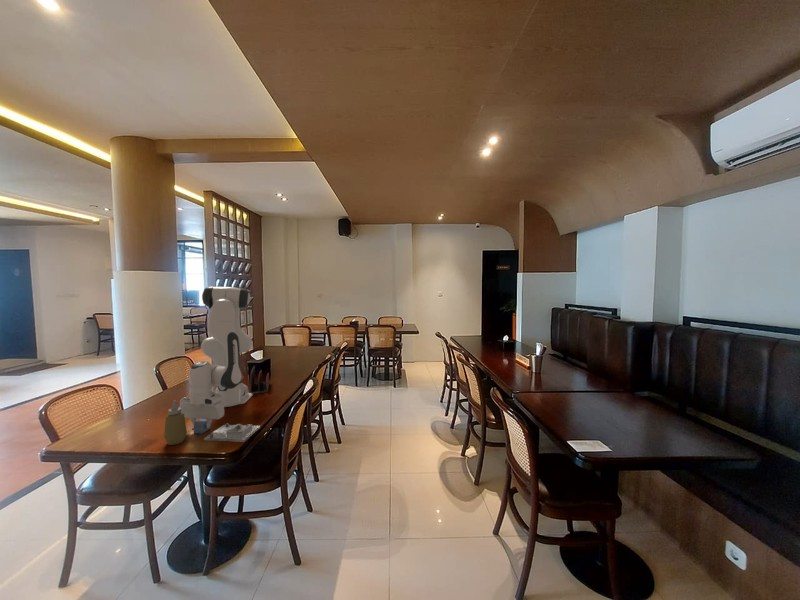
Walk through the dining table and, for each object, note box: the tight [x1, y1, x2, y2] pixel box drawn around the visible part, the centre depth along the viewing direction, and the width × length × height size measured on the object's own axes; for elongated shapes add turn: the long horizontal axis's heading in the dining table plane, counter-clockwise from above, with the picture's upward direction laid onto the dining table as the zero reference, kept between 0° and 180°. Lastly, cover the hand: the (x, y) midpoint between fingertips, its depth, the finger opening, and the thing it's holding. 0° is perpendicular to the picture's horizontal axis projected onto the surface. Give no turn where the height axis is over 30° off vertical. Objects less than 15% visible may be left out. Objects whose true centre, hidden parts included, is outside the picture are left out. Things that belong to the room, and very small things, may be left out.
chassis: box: [203, 422, 261, 443], centre depth 149 cm, size 14×18×3 cm
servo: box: [191, 419, 212, 434], centre depth 152 cm, size 8×4×4 cm, turn 175°
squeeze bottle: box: [163, 400, 188, 446], centre depth 141 cm, size 8×8×18 cm
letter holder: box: [249, 365, 270, 395], centre depth 214 cm, size 10×20×14 cm, turn 18°
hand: (201, 427), depth 152 cm, fingers closed on servo, 4 cm apart
